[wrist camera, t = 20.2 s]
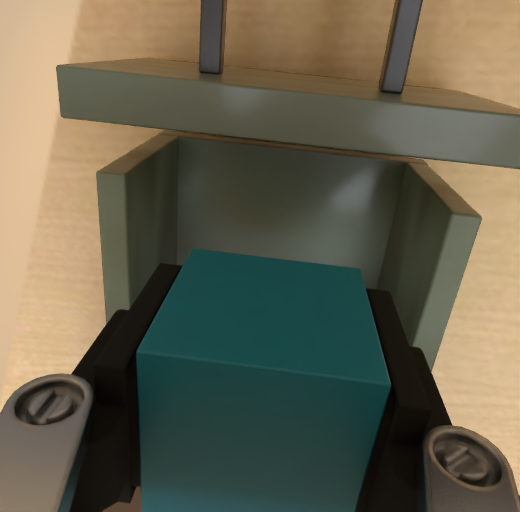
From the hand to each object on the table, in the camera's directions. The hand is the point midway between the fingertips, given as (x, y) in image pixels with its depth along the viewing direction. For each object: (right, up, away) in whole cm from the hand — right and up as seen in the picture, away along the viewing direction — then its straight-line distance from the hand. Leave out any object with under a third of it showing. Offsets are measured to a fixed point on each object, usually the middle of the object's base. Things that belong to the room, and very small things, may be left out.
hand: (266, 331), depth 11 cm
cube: (0, 0, 0) cm, 0 cm away
